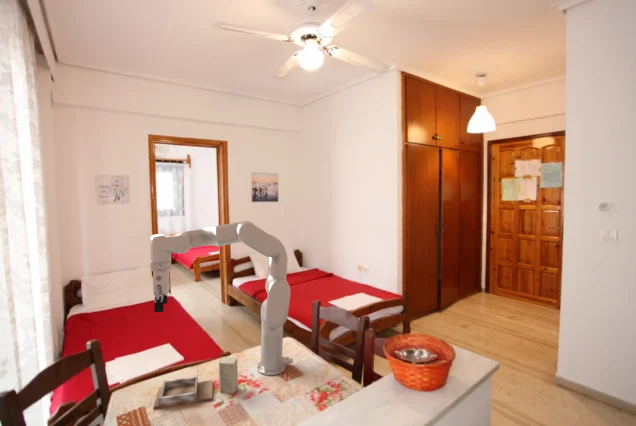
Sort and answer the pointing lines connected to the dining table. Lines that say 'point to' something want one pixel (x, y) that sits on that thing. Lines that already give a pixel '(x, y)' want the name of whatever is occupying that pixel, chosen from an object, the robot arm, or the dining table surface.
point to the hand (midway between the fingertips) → (161, 307)
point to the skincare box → (228, 375)
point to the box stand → (183, 392)
